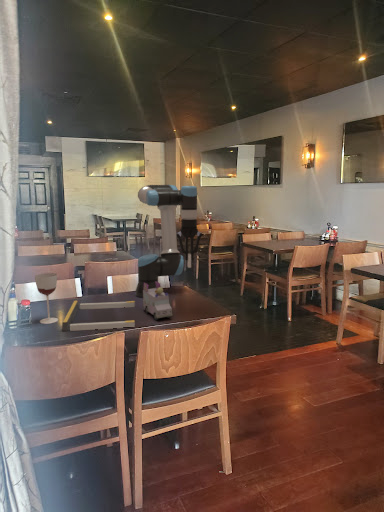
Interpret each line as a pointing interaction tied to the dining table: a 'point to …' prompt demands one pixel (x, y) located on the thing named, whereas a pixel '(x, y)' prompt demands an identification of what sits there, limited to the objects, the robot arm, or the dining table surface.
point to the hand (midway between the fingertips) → (189, 266)
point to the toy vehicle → (156, 302)
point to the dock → (99, 325)
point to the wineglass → (46, 290)
